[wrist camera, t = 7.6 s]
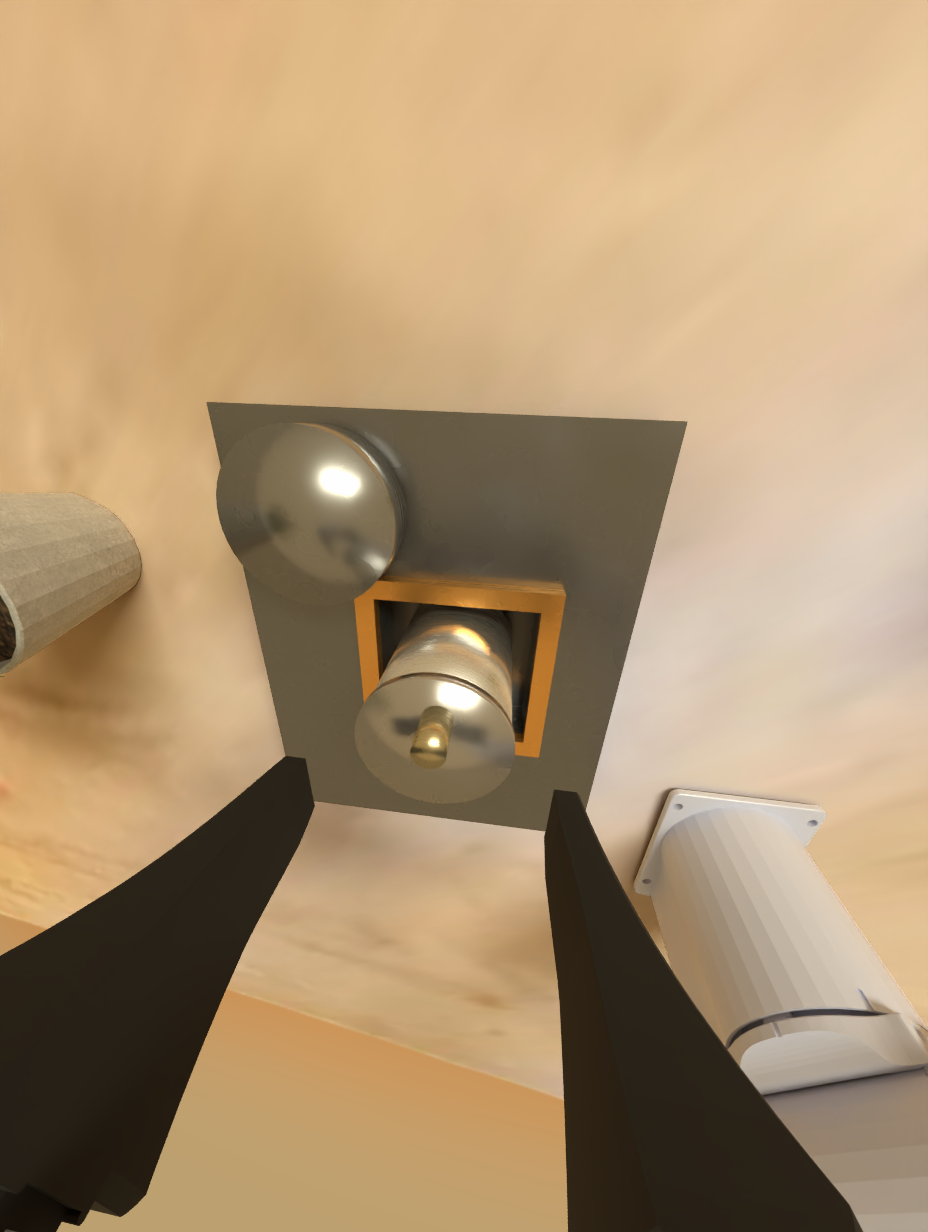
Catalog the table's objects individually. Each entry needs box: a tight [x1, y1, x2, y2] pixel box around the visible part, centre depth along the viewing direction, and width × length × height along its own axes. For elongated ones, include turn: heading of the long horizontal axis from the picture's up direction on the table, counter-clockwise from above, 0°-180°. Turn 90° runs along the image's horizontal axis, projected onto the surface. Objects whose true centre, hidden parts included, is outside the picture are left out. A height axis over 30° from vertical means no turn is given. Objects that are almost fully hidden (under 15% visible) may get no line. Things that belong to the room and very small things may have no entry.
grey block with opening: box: [207, 402, 687, 831], centre depth 17 cm, size 20×16×4 cm
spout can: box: [354, 603, 515, 804], centre depth 15 cm, size 5×5×9 cm
